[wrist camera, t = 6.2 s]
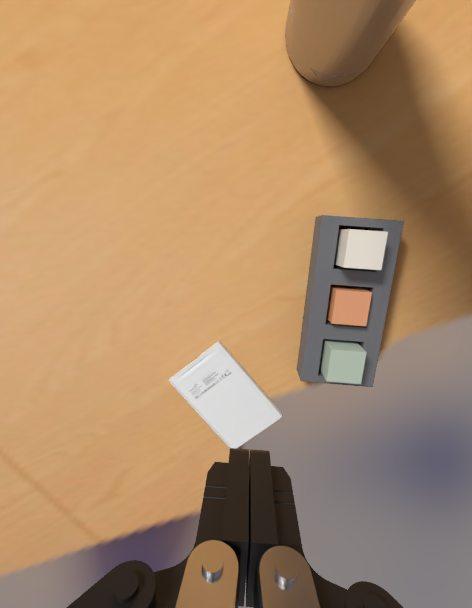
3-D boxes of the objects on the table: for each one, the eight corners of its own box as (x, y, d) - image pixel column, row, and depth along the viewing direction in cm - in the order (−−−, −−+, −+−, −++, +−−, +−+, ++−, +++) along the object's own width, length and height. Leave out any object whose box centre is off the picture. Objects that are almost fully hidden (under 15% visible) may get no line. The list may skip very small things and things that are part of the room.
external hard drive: (232, 443, 40) (170, 376, 39) (281, 409, 39) (219, 338, 37) (232, 452, 39) (167, 382, 37) (283, 417, 37) (218, 342, 36)
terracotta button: (327, 284, 34) (336, 289, 31) (360, 286, 34) (372, 292, 31) (323, 315, 35) (331, 323, 32) (355, 317, 35) (366, 326, 31)
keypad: (315, 217, 33) (322, 215, 30) (389, 222, 33) (403, 220, 30) (296, 369, 37) (301, 381, 34) (362, 374, 37) (372, 386, 34)
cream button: (338, 229, 32) (349, 229, 28) (373, 232, 31) (388, 231, 28) (333, 264, 32) (343, 267, 29) (367, 266, 32) (381, 270, 29)
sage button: (323, 338, 34) (331, 349, 31) (355, 340, 34) (366, 352, 31) (319, 367, 35) (326, 381, 32) (350, 370, 35) (360, 384, 32)
